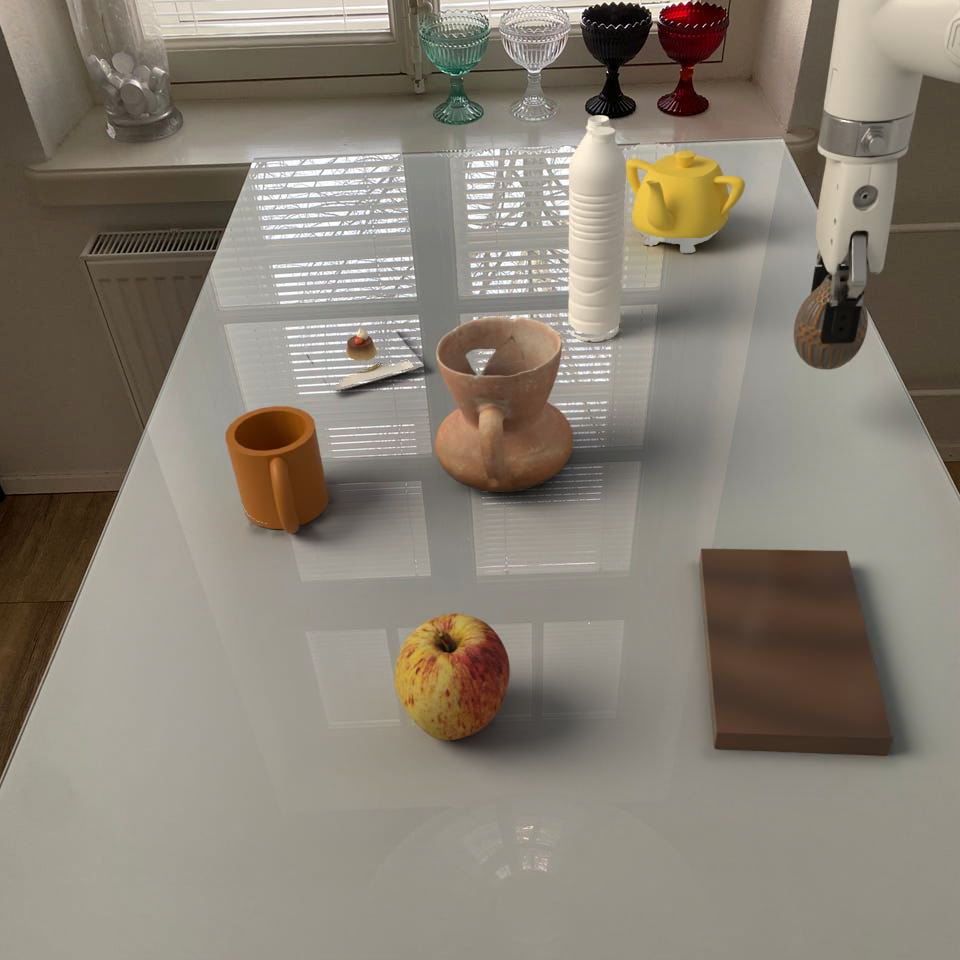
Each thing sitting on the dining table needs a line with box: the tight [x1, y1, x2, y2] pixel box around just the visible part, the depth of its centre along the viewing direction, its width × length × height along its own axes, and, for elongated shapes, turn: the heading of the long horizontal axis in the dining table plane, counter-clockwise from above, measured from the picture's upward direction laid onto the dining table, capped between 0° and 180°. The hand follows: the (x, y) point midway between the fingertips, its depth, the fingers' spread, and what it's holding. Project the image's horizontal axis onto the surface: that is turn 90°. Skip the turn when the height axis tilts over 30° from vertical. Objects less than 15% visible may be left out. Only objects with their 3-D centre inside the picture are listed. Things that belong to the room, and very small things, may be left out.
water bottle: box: [567, 114, 627, 343], centre depth 116 cm, size 9×6×25 cm
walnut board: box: [698, 548, 894, 756], centre depth 83 cm, size 22×13×2 cm, turn 174°
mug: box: [225, 405, 330, 534], centre depth 99 cm, size 9×12×9 cm
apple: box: [394, 612, 511, 741], centre depth 77 cm, size 9×9×10 cm
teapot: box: [626, 149, 746, 238], centre depth 138 cm, size 14×14×12 cm
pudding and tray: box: [336, 327, 416, 392], centre depth 121 cm, size 12×12×5 cm
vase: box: [793, 274, 869, 371], centre depth 98 cm, size 7×7×9 cm
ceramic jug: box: [434, 315, 575, 493], centre depth 100 cm, size 18×14×14 cm
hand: (831, 321), depth 98 cm, fingers closed on vase, 6 cm apart
